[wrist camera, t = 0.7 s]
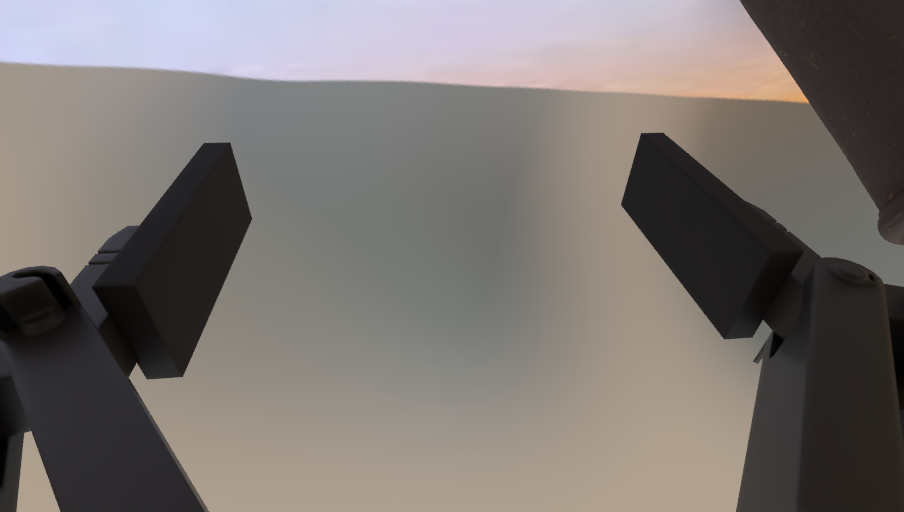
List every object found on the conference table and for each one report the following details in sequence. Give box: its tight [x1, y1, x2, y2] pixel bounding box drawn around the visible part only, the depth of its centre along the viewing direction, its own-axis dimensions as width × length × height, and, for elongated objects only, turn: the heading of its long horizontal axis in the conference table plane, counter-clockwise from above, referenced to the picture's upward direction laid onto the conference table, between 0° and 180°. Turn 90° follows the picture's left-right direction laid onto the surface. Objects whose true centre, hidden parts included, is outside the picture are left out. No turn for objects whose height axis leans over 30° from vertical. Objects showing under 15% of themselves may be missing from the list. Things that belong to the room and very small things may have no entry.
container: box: [740, 0, 904, 245], centre depth 25 cm, size 9×9×20 cm
